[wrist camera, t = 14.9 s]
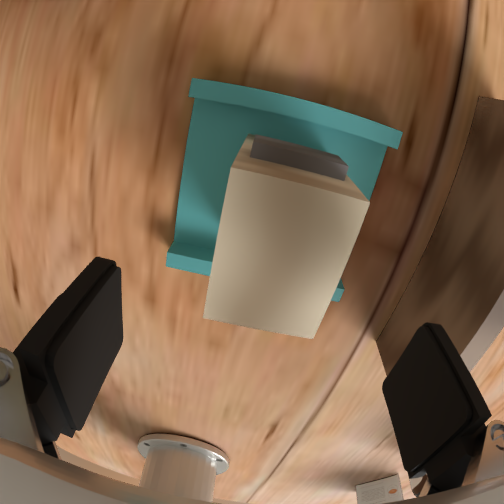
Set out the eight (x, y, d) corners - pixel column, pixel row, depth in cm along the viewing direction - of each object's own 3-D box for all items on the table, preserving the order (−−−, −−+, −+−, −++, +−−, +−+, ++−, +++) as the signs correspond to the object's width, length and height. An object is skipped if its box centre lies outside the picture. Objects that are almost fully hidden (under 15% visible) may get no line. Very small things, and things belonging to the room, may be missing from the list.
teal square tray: (390, 127, 16) (402, 132, 14) (334, 285, 21) (338, 302, 19) (199, 79, 15) (192, 77, 14) (173, 252, 20) (165, 266, 19)
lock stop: (330, 143, 16) (376, 185, 9) (299, 246, 19) (313, 339, 12) (250, 123, 16) (234, 148, 9) (227, 230, 19) (202, 317, 12)
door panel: (395, 344, 24) (423, 422, 17) (376, 342, 23) (400, 423, 16) (499, 109, 14) (585, 135, 7) (478, 96, 14) (568, 116, 7)
